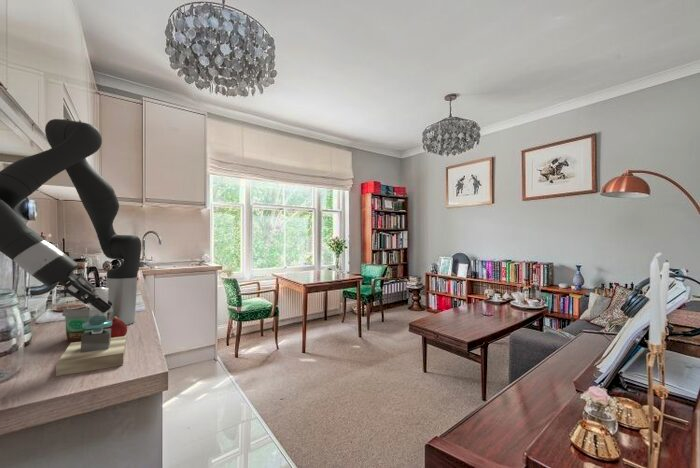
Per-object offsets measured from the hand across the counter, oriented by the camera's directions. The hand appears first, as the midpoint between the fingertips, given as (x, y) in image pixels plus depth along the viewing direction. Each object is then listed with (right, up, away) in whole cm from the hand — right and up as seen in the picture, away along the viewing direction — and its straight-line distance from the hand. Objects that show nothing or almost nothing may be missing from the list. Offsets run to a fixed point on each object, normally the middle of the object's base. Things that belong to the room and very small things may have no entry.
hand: (108, 308), depth 78 cm
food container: (-18, -13, +12) cm, 26 cm away
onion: (-7, -14, +11) cm, 19 cm away
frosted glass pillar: (-2, -9, -2) cm, 10 cm away
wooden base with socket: (-2, -13, -2) cm, 13 cm away
